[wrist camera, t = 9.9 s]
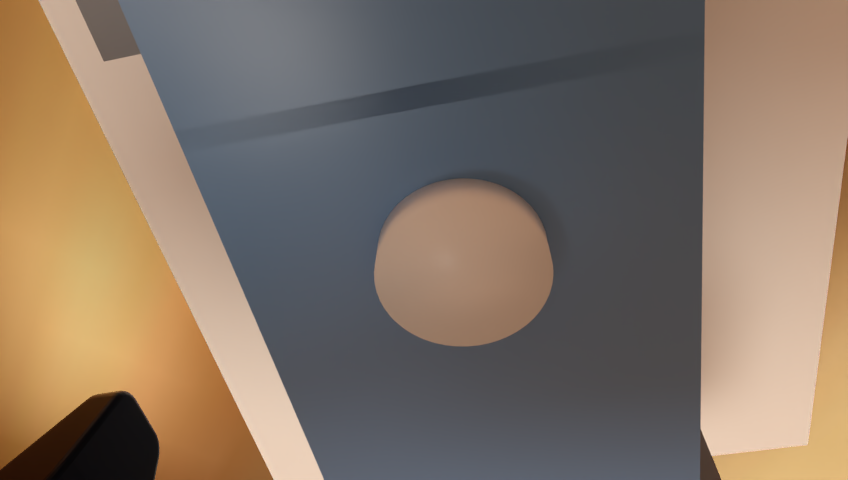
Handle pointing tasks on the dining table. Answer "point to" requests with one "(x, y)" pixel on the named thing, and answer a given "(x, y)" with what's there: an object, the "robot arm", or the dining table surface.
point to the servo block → (458, 222)
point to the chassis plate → (722, 217)
